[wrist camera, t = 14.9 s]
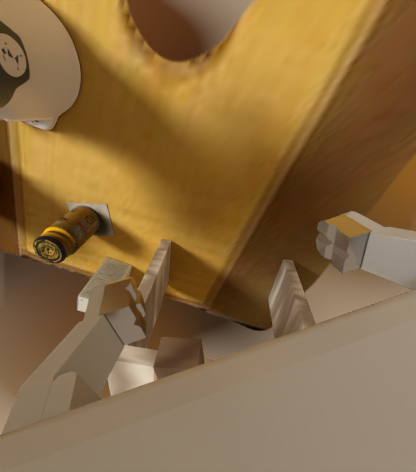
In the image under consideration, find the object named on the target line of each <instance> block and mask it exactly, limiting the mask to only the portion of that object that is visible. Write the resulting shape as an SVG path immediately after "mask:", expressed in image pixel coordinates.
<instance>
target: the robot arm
mask: <svg viewBox="0 0 416 472" xmlns="http://www.w3.org/2000/svg"><path fill="white" fill-rule="evenodd" d="M80 83H81V71H80V64H79V59H78V55H77V52H76V49H75V46H74V44H73V42H72V40H71V38H70V36H69V34H68V32H67V30H66V29H65V27H64V26H63V24H62V23H61V21H60V20H59V19H58V18H57V16H56V15H55V14H54V13H53V12H52V11H51V10H50V9H49V8H48V7H47V6H46V5H45V4H44V3H43V2H41V1H40V0H0V120H3V118H4V120H5V121H8V122H18V121H21V122H24V123H26V124H29V125H32V126H35V127H38V128H40V129H43V130H51V129H52V128H53V127H54V126H55V124H56V122H57V119H58V117H59V116H60V115H61V114H62V113H64V112H65V111H66V110H68V109H69V108H70V107H71V106H72V105H73V103H74V102H75V100H76V98H77V96H78V93H79V89H80ZM38 120H39V121H38ZM317 230H318V231H319V232H320V233H319V235H318V236H317V238H316V246H317V250H318V251H319V253H320V254H321V255H322V256H323V257H324V258H327V259H330V260H331V264H332V265H333V266H334V267H335V268H337V269H338V270H339V271H340V272H341V273H346V272H349V271H352V270H356V269H359V268H361V269H362V270H365V271H367V272H370V273H372V274H375V275H377V276H379V277H382V278H384V279H387V280H389V281H392V282H395V283H397V284H399V285H402V286H404V287H407V288H409V289H412V291H409V292H407V293H404V294H401V295H398V296H395V297H392V298H389V299H387V300H384V301H381V302H378V303H375V304H372V305H370V306H367V307H364V308H361V309H358V310H355V311H353V312H350V313H347V314H344V315H341V316H338V317H336V318H333V319H330V320H327V321H325V322H321V323H319V324H316V325H313V326H310V327H307V328H304V329H301V330H298V331H296V332H293V333H290V334H287V335H284V336H281V337H278V338H276V339H273V340H270V341H267V342H264V343H261V344H258V345H255V346H253V347H250V348H247V349H244V350H241V351H238V352H236V353H233V354H230V355H227V356H224V357H221V358H218V359H216V360H213V361H210V362H207V363H204V364H201V365H198V366H196V367H193V368H190V369H187V370H184V371H181V372H178V373H176V374H173V375H170V376H167V377H164V378H161V379H158V380H156V381H153V382H150V383H147V384H144V385H141V386H138V387H136V388H133V389H130V390H127V391H124V392H121V393H119V394H116V395H113V396H110V397H107V398H104V399H101V398H100V397H99V396H98V395H99V394H100V392H101V389H102V388H103V386H104V384H105V382H106V380H107V379H108V377H109V375H110V373H111V371H112V369H113V367H114V365H115V363H116V362H117V360H118V358H119V356H120V354H121V352H122V350H123V348H124V345H127V344H130V343H132V342H135V341H138V340H141V339H144V338H146V322H145V320H144V318H143V317H144V316H145V314H146V309H145V303H144V299H143V296H142V294H141V291H139V290H137V283H136V281H135V279H134V278H133V277H132V276H131V277H128V278H124V279H120V280H117V281H113V282H109V283H107V284H102V285H99V286H95V287H93V288H92V289H91V293H90V297H89V300H88V304H87V308H86V312H85V316H84V320H83V321H81V322H79V323H78V324H77V325H76V326H75V327H74V328H73V330H72V331H71V332H70V333H69V334H68V335H67V336H66V337H65V338H64V340H63V341H62V342H61V343H60V344H59V345H58V346H57V347H56V348H55V349H54V351H53V352H52V353H51V354H50V355H49V356H48V357H47V358H46V359H45V361H44V362H43V363H42V364H41V365H40V366H39V367H38V368H37V369H36V371H35V372H34V373H33V374H32V375H31V376H30V377H29V378H28V380H27V381H26V382H25V383H24V384H23V385H22V386H21V388H20V390H19V393H18V395H17V398H16V400H15V402H14V405H13V407H12V410H11V412H10V415H9V417H8V419H7V422H6V424H5V427H4V429H3V432H2V434H1V435H0V472H416V231H410V230H404V229H399V228H393V227H386V228H385V227H383V226H381V225H379V224H377V223H376V222H374V221H372V220H370V219H368V218H366V217H364V216H363V215H361V214H359V213H357V212H353V211H350V212H347V213H344V214H341V215H339V216H336V217H332V218H329V219H326V220H322V221H320V222H319V224H318V227H317Z"/></svg>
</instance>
